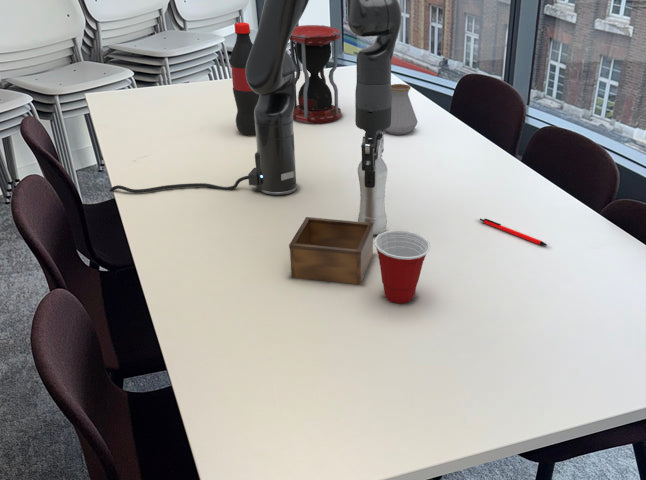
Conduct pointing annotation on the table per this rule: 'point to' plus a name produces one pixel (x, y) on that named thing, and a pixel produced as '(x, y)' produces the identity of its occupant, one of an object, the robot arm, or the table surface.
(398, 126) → the coffee pot
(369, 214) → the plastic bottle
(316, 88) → the hourglass
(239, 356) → the table surface
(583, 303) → the table surface
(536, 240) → the pen
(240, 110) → the cola bottle
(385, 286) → the plastic cup
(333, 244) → the wooden box
